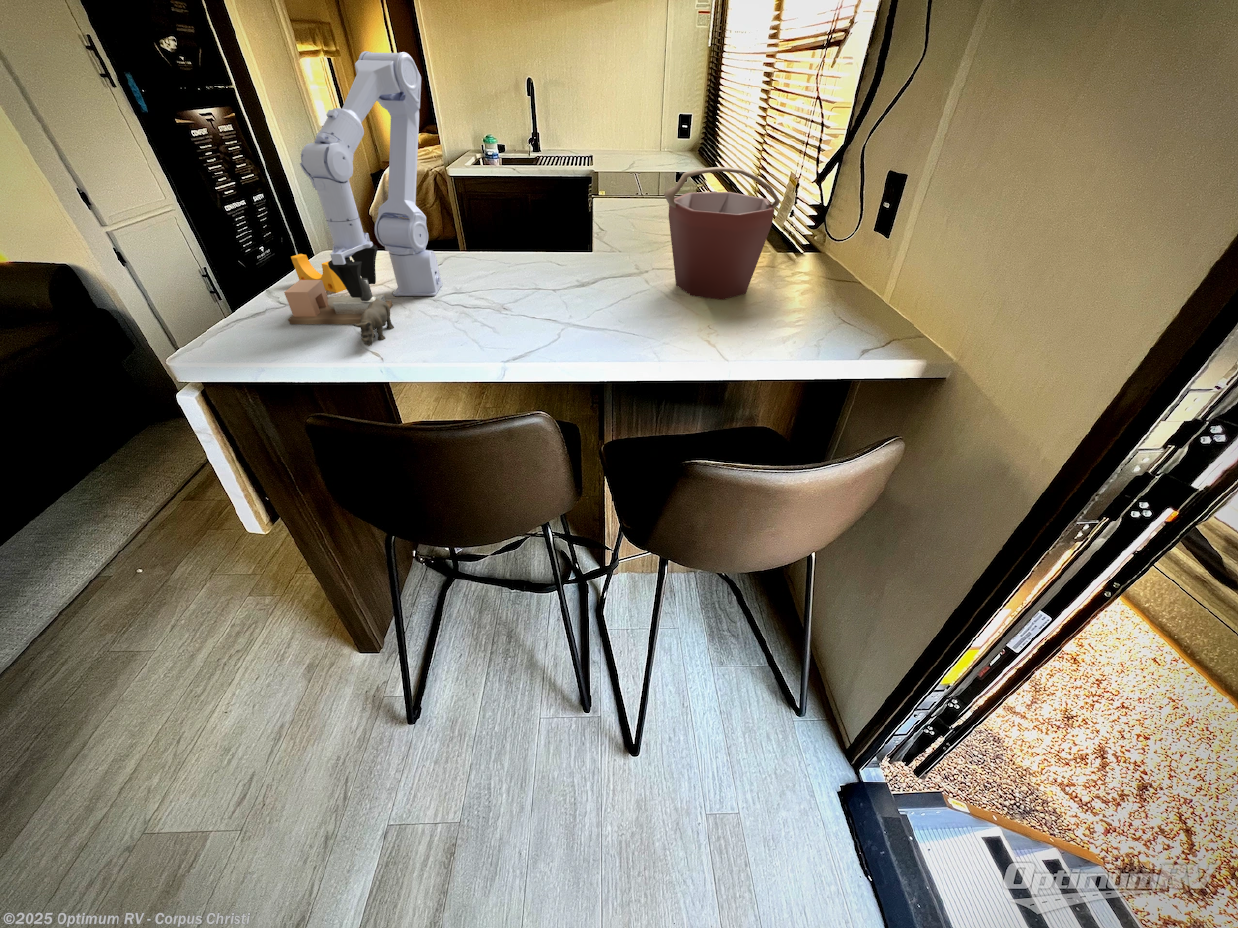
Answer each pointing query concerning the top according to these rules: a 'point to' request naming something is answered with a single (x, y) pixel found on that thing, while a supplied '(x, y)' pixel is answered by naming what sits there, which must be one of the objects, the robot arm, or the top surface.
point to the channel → (353, 306)
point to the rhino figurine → (374, 321)
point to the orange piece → (317, 273)
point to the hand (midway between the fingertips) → (364, 290)
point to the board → (329, 317)
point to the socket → (306, 297)
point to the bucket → (717, 236)
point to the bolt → (366, 298)
